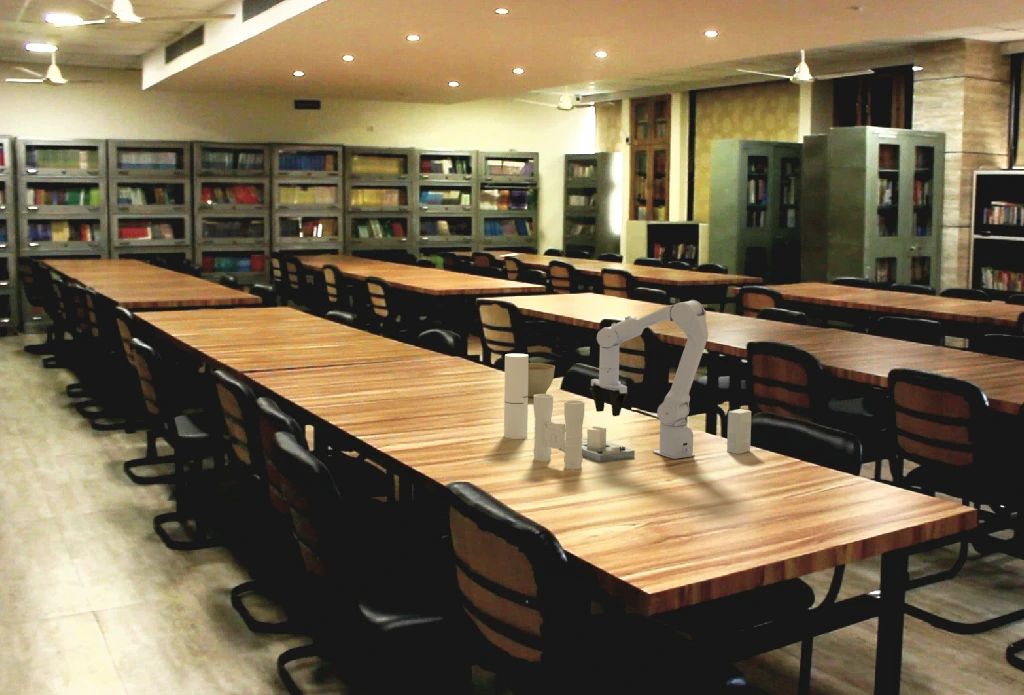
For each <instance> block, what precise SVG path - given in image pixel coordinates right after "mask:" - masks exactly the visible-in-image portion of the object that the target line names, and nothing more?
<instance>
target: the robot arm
mask: <svg viewBox="0 0 1024 695" xmlns="http://www.w3.org/2000/svg"><path fill="white" fill-rule="evenodd" d="M706 318H707V312H706V310H705V308H704V307H703V305H702V303H700V301H697V300H695V299H691V300H688V301H683V302H677V303H675V304H671V305H667V306H663V307H661V308H659V309H657V310H655V311H652V312H651V313H648V314H647V315H644V316H642V317H640V318H639V317H637V316H631V315H628V316H626V317H624V320H620V322H617V323H616V322H613V323H611V326H609V327H606V326H605V327H603V328H601V329H600V330H599V331H598V332H597V335H596V341H597V344H598V345H599V366H598V367H599V370H598V371H599V372H598V378H593V379H592V378H591V380H590V386H591V387H589V392H590V393H591V395H592V399H593V401H594V404H595V405H594V407H595V409H596V412H598V413H599V412H604V411H605V403H606V396H607V392H608V390H609V391H612V392H608V395H609V399H610V402H611V414H612V416H613V417H619V416H620V415H621V412H622V408H623V405H624V403H625V401H626V398H627V397H628V396H629V393H628V386H627V385H624V384H622V382H621V381H619V378H620V346H621V344H622V343H625V342H627V341H630V340H632V339H633V338H636V337H639V336H641V335H642V334H643V332H644V329H646V328H649V327H652V326H654V325H657V324H659V323H662V322H664V321H667V322H674V323H675V324H676V325H677V326H678V327H679V328H680V329H681V330H682V331H683V333H684V334H685V336H686V338H687V340H686V343H685V346H684V349H683V351H682V355H681V357H680V360H679V364H678V367H677V370H676V373H675V376H674V379H673V382H672V385H671V388H670V389H669V391H668V393H667V394H666V395H665V397H664V399H663V402H662V403H661V404H659V406H658V407H657V412H656V415H657V418H658V420H659V422H660V423H659V424H660V427H659V449H655V450H652V453H653V454H658V455H660V456H664V457H666V458H669V459H672V460H675V459H683V458H690V457H695V455H696V454H695V453H693V452H694V451H693V450H694V432H693V431H692V428H690V427H688V426H687V421H686V418H687V417H688V415H689V413H690V400H691V397H690V391H691V388H692V385H693V382H694V380H695V376H696V373H697V370H698V367H699V365H700V362H701V359H702V356H703V353H704V350H705V347H706V344H707V342H708V338H709V332H708V330H709V329H708V324H707V319H706Z"/></svg>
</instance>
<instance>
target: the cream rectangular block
mask: <svg viewBox="0 0 1024 695" xmlns="http://www.w3.org/2000/svg"><path fill="white" fill-rule="evenodd" d="M586 438H587V447H589V448H592V449H598V448H605V447H606V441H607V428H606V427H600V426H591V427H589V428H587V432H586Z"/></svg>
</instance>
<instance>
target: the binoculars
mask: <svg viewBox="0 0 1024 695" xmlns="http://www.w3.org/2000/svg"><path fill="white" fill-rule="evenodd" d="M585 404H586V402H585V401H584V400H580V399H579V400H578V399H567V400H565V401H564V411H563V413H564V415H563V416H564V422H565V423H562V422H561V423H559V422H554V421H552V417H553V409H554V395H553V394H551V393H546V394H536V395H534V397H533V414H534V437H533V438H534V443H533V444H534V445H533V446H534V447H533V459H534V461H537V462H549V461H551V457H552V456H551V455H552V449H557V450H558V449H559V450H561V451H564V457H563V462H564V469H567V470H580V469H582V464H583V456H582V438H583V424H584V418H585Z"/></svg>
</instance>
